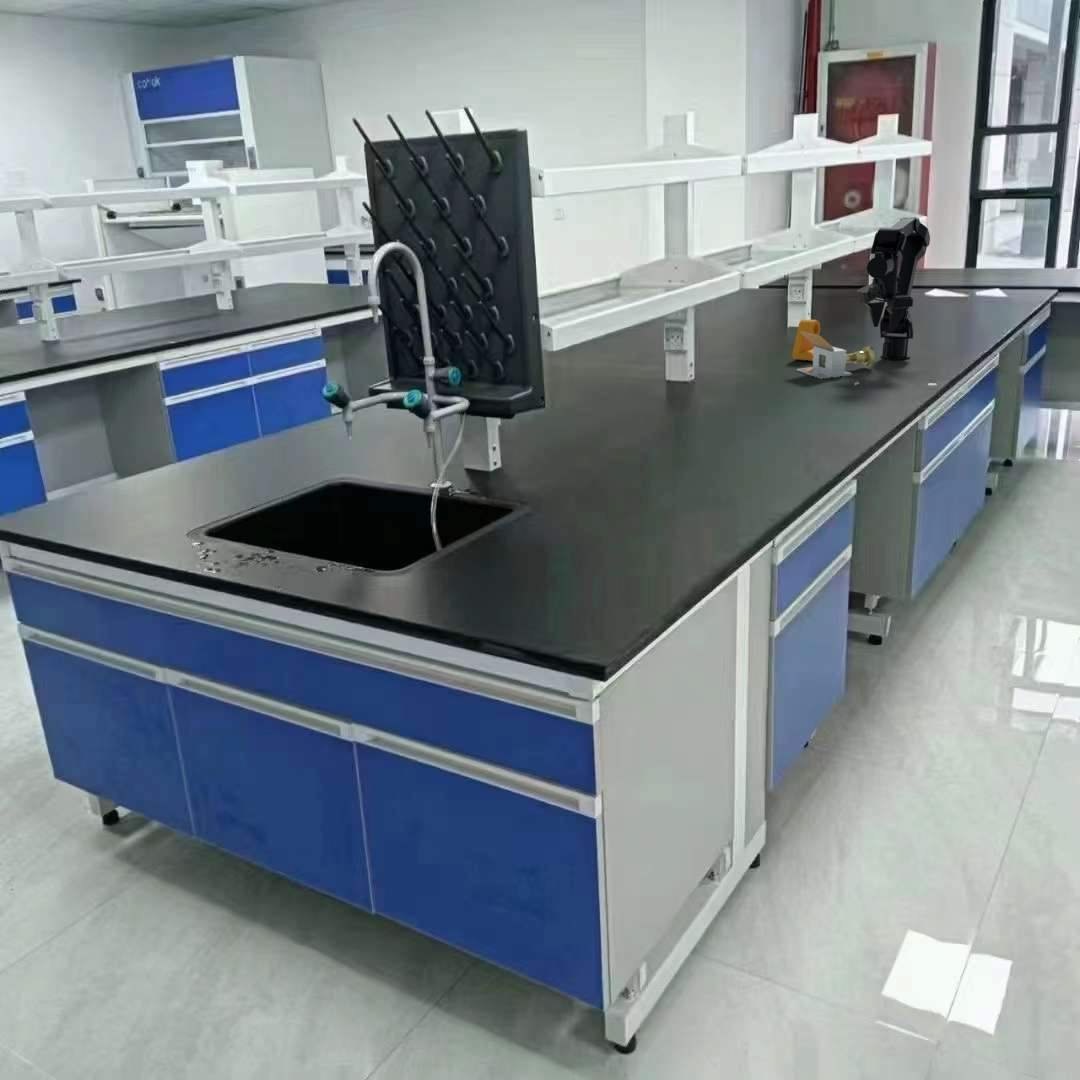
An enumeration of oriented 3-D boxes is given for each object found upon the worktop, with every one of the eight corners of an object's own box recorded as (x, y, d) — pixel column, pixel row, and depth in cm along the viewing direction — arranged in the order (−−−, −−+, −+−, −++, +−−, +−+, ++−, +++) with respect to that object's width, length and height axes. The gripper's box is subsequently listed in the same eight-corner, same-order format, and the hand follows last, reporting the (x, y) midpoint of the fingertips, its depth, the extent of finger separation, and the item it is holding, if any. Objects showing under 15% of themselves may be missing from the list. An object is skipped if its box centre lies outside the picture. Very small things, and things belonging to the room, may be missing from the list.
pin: (863, 363, 306) (864, 344, 304) (874, 367, 301) (875, 347, 299) (822, 368, 302) (823, 349, 300) (833, 371, 297) (834, 352, 295)
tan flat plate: (813, 346, 302) (815, 343, 302) (832, 352, 293) (835, 349, 292) (798, 333, 299) (801, 330, 299) (817, 339, 290) (820, 335, 290)
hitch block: (827, 367, 307) (828, 343, 304) (851, 375, 295) (853, 350, 293) (796, 370, 304) (798, 346, 302) (820, 378, 293) (821, 354, 290)
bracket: (813, 363, 314) (815, 323, 310) (792, 361, 318) (793, 321, 314) (830, 357, 321) (832, 318, 317) (809, 355, 326) (811, 316, 322)
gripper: (844, 272, 302) (841, 326, 307) (881, 279, 285) (877, 336, 291) (878, 269, 305) (875, 323, 310) (916, 276, 288) (912, 332, 293)
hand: (883, 328), depth 301 cm, fingers open, 8 cm apart
